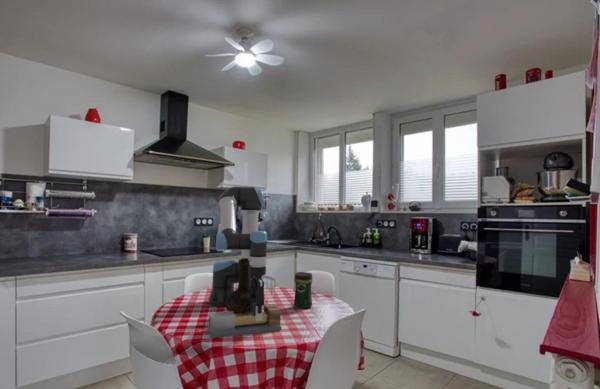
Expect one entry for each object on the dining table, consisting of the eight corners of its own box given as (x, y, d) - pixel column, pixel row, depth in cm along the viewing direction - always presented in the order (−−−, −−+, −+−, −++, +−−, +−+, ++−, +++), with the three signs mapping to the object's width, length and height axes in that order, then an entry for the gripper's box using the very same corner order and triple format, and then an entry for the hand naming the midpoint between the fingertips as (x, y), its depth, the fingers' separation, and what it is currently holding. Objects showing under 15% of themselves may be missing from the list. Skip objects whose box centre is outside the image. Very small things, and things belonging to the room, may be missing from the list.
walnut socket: (263, 320, 156) (264, 304, 157) (274, 319, 158) (274, 303, 159) (269, 326, 148) (270, 310, 148) (280, 325, 150) (280, 309, 150)
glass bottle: (268, 313, 172) (270, 257, 173) (251, 324, 155) (253, 262, 156) (237, 308, 178) (239, 255, 179) (218, 318, 161) (220, 259, 162)
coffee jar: (313, 305, 187) (314, 272, 188) (308, 309, 180) (309, 274, 180) (297, 303, 190) (298, 270, 191) (291, 307, 183) (292, 272, 184)
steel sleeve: (208, 327, 145) (209, 312, 146) (231, 324, 149) (232, 310, 149) (210, 332, 140) (210, 317, 140) (234, 329, 144) (235, 315, 144)
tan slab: (226, 322, 148) (226, 300, 149) (271, 318, 156) (272, 296, 157) (228, 327, 143) (229, 303, 143) (276, 322, 151) (276, 300, 151)
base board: (207, 328, 148) (207, 324, 148) (272, 321, 160) (273, 318, 160) (211, 338, 137) (211, 334, 137) (281, 330, 148) (281, 326, 149)
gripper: (243, 262, 160) (242, 310, 159) (255, 270, 140) (253, 326, 139) (259, 261, 163) (257, 309, 162) (273, 269, 143) (271, 324, 142)
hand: (255, 317), depth 150 cm, fingers open, 8 cm apart
